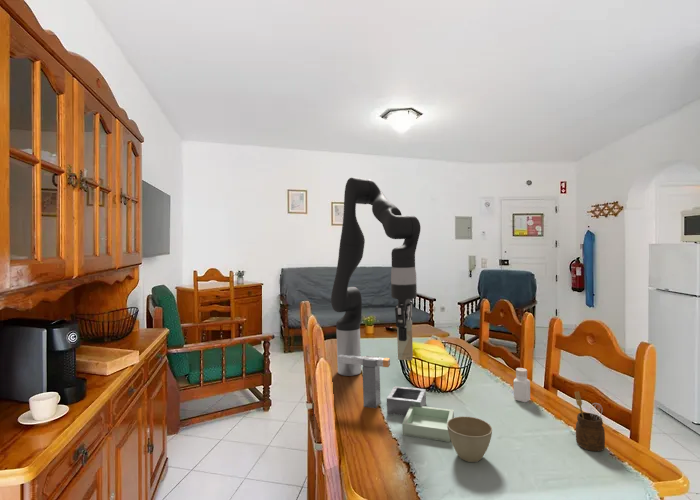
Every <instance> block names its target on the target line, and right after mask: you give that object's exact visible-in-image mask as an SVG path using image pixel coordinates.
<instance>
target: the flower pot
mask: <svg viewBox="0 0 700 500" xmlns="http://www.w3.org/2000/svg"><path fill="white" fill-rule="evenodd" d="M447 428H448V433H449V436H450V443H451V444H452V447H453V448H454V450H455V453H456V454H457V456H458V457H459V458H460V459H461V460H463V461H465V462H469V463H477V462H479V461H481V460H482V458H483V457H484V456H485V454H486V452H487V450H488V449H489V446H490V442H491V441H492V440H491V439H492V435H493V427H492V426H491V424H490V423H488V422H487V421H485V420H484V419H480V418H477V417H472V416H463V415H462V416H456V417H455V416H454V418H452V419H450V420H449V421H448V422H447Z"/></svg>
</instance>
